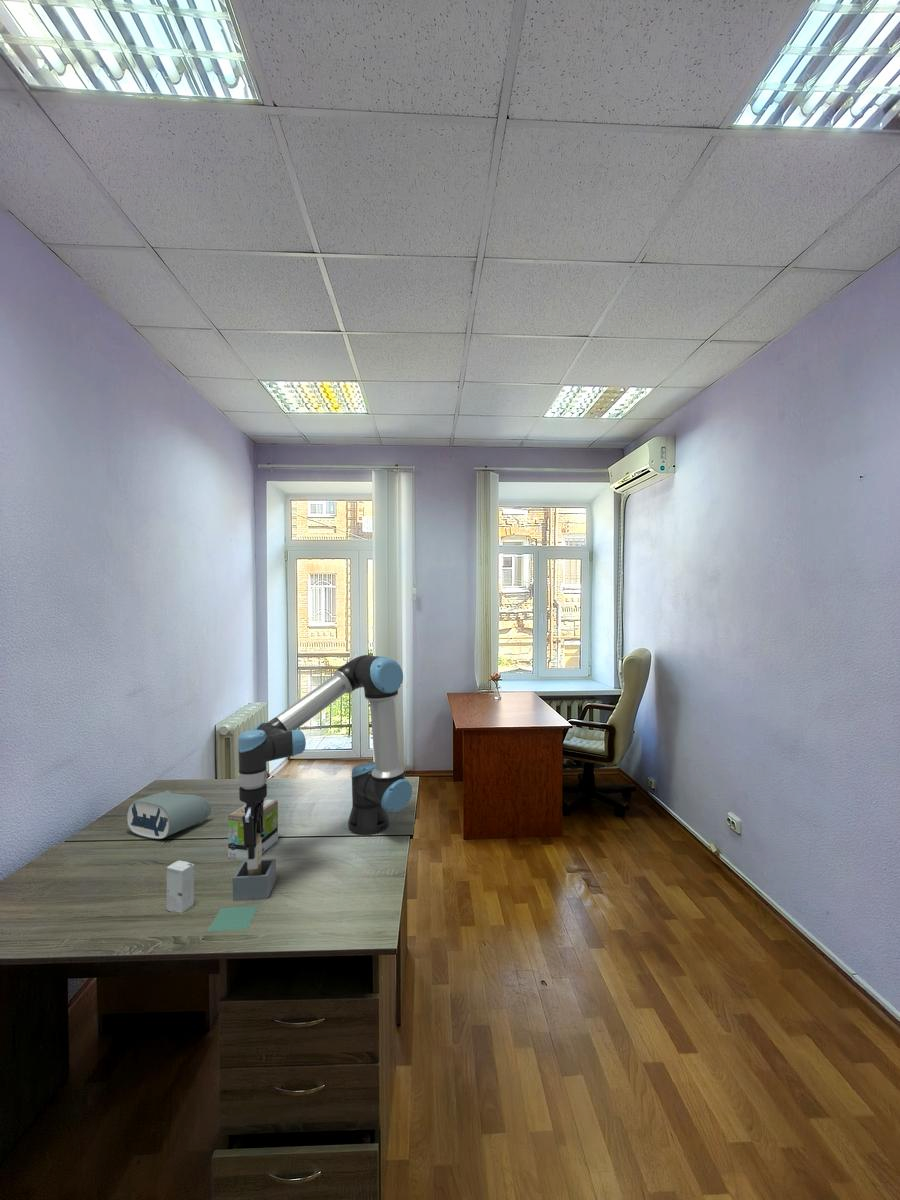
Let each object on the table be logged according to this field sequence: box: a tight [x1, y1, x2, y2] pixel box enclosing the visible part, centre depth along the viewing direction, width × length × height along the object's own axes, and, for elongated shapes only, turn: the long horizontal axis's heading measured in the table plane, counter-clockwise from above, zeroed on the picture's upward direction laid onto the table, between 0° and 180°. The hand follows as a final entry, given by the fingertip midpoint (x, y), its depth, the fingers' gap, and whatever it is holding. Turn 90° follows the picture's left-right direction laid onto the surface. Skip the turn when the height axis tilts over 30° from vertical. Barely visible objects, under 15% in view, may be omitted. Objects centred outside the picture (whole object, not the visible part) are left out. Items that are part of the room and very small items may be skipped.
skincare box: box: [166, 860, 195, 914], centre depth 144 cm, size 6×4×12 cm
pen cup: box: [232, 858, 277, 902], centre depth 152 cm, size 10×10×7 cm
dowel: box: [248, 833, 262, 876], centre depth 152 cm, size 4×4×16 cm
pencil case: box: [125, 790, 212, 840], centre depth 196 cm, size 22×19×13 cm
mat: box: [207, 905, 259, 933], centre depth 139 cm, size 10×10×1 cm
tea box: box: [227, 798, 279, 860], centre depth 178 cm, size 15×10×15 cm, turn 168°
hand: (254, 864), depth 152 cm, fingers closed on dowel, 3 cm apart
